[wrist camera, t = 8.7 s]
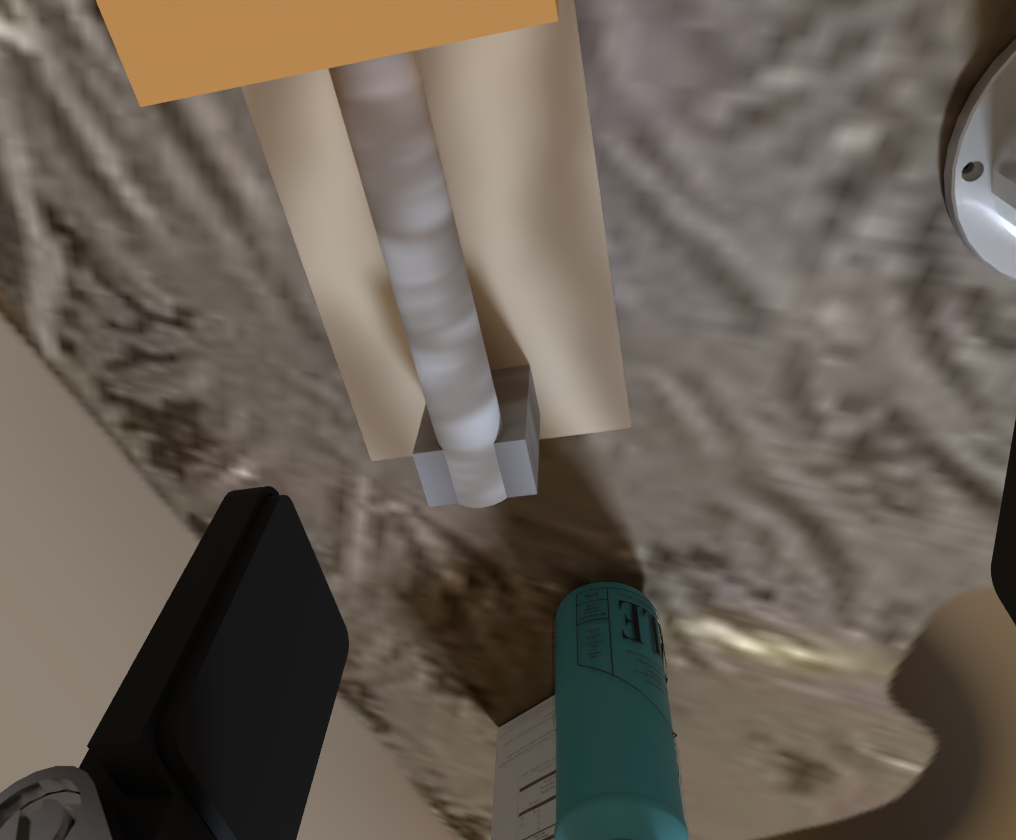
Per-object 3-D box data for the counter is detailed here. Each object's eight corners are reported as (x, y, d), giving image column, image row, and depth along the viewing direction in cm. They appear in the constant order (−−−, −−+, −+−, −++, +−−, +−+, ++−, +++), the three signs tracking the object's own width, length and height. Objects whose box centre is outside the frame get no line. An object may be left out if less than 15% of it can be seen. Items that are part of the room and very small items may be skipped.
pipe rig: (534, -296, 28) (525, -359, 21) (629, 412, 43) (643, 517, 36) (158, -196, 30) (30, -221, 23) (376, 445, 45) (342, 551, 38)
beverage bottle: (538, 619, 52) (527, 965, 35) (576, 546, 49) (583, 893, 32) (632, 645, 53) (664, 995, 36) (676, 576, 49) (735, 928, 33)
